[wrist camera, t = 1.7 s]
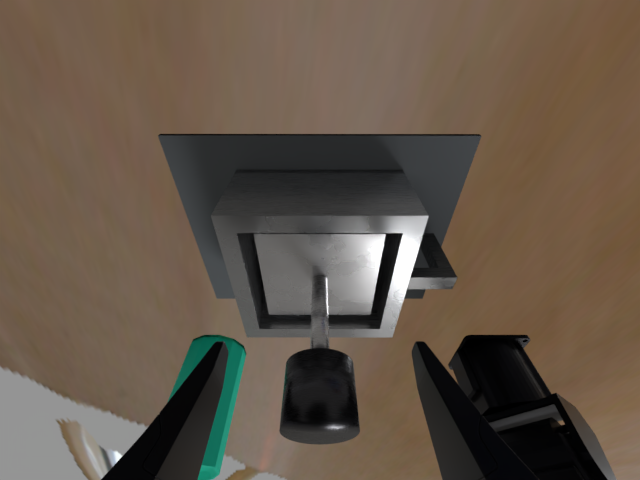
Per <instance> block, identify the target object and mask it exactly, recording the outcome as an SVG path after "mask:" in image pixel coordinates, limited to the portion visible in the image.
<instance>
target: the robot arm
mask: <svg viewBox="0 0 640 480" xmlns="http://www.w3.org/2000/svg"><path fill="white" fill-rule="evenodd" d="M529 342H530V338H529V336H528V335H467V336H465V337H464V339H463V340H462V342H461V344H460V345H459V347H458V349H457V350H456V352H455V354H454V355H453V357H452V359H451V361H450V362H449V364H448V366H449V369H451V370H453V371H454V374H455V377H456V379H457V382H458V383H457V382H456V381H455V380H454V378H453V377H452V376H451V375H450V373H449V372H448V371H447V369H446V368H445V367H444V366H443V364H442V363H441V362H440V361H439V359H438V358H437V357H436V355H435V354H434V353H433V352H432V350H431V349H430V348H429V347H428V345H427V344H426V343H425V342H423V341H416V342H415V344H414V346H413V349H412V360H413V366H414V372H415V378H416V384H417V389H418V393H419V397H420V400H421V404H422V407H423V411H424V415H425V418H426V422H427V426H428V429H429V433H430V436H431V440H432V444H433V447H434V451H435V454H436V458H437V462H438V465H439V469H440V473H441V476H442V480H617V479H616V477H615V475H614V473H613V471H612V468H611V466H610V464H609V462H608V460H607V458H606V456H605V454H604V452H603V449H602V447H601V445H600V443H599V441H598V439H597V437H596V435H595V433H594V432H593V430H592V429H591V428H590V426H589V425H588V424H587V422H586V421H585V419H584V418H583V417H582V415H581V414H580V412H579V411H578V410H577V408H576V407H575V406H574V405H572V404H571V403H570V402H568V401H567V400H566V399H564V398H563V397H561V396H560V395H559V394H557V393H553V394H551V392H550V390H549V389H548V387H547V385H546V384H545V382H544V381H543V379H542V377H541V376H540V374H539V373H538V371H537V369H536V368H535V366H534V365H533V363H532V361H531V360H530V358H529V357H528V355H527V353H526V352H525V350H524V347H525V346H526V345H527V344H528V343H529ZM227 360H228V349H227V346H226V344H225V342H224V341H217V342H215V343H214V344H213V345H212V347H211V348H210V349H209V350H208V352H207V353H206V354H205V355H204V357H203V358H202V359H201V361H200V362H199V363H198V364H197V366H196V367H195V368H194V369H193V371H192V372H191V373H190V375H189V376H188V377H187V378H186V380H185V381H184V382H183V383H182V385H181V386H180V387H179V389H178V390H177V391H176V392H175V394H174V395H173V396H172V397H171V399H170V400H169V401H168V403H167V404H166V405H165V406H164V408H163V409H162V410H161V411H160V413H159V414H158V415H157V416H156V418H155V419H154V420H153V422H152V423H151V424H150V425H149V426H148V428H147V429H146V430H145V431H144V433H143V434H142V435H141V436H140V437H139V438H138V439H137V441H136V442H135V443H134V444H133V445H132V446H131V447H130V448H129V450H128V451H127V452H126V453H125V454H124V455H123V456H122V457H121V458H120V459H119V460H118V462H117V463H116V464H115V465H114V466H113V467H112V468H111V469H110V470H109V471H108V472H107V473H106V475H105V476H104V477H103V478H102V479H101V480H198V476H199V473H200V469H201V465H202V462H203V458H204V454H205V451H206V447H207V444H208V440H209V436H210V433H211V429H212V426H213V422H214V418H215V415H216V411H217V407H218V404H219V400H220V397H221V393H222V389H223V384H224V378H225V372H226V366H227ZM562 420H563V422H564V423H565V424H564V425H560V424H559V422H558V421H562Z"/></svg>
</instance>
